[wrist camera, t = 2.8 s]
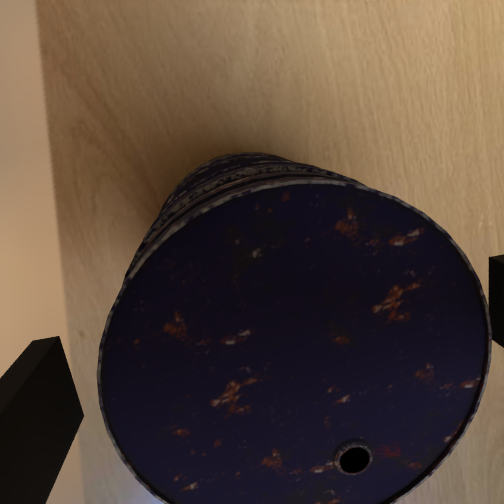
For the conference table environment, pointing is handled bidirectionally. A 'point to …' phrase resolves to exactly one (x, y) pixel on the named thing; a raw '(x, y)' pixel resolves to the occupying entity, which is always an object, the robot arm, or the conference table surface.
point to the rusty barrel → (291, 341)
